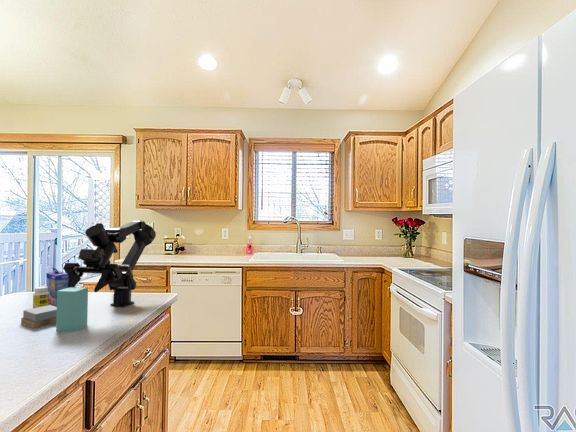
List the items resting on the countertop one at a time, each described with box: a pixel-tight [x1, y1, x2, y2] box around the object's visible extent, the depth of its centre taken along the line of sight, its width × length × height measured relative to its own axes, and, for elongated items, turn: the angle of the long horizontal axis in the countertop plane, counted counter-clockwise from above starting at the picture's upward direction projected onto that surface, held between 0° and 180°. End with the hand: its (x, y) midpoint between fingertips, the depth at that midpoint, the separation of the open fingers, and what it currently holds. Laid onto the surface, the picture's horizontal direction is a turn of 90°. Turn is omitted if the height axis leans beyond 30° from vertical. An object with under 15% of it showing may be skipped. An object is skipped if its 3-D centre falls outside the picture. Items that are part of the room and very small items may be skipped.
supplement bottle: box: [32, 286, 49, 308], centre depth 128 cm, size 5×5×8 cm
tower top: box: [22, 304, 57, 322], centre depth 113 cm, size 8×8×2 cm
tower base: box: [20, 317, 57, 329], centre depth 113 cm, size 9×9×2 cm
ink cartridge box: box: [46, 267, 69, 306], centre depth 138 cm, size 10×6×14 cm, turn 54°
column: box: [55, 286, 89, 332], centre depth 108 cm, size 6×6×12 cm
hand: (81, 291), depth 112 cm, fingers open, 9 cm apart
